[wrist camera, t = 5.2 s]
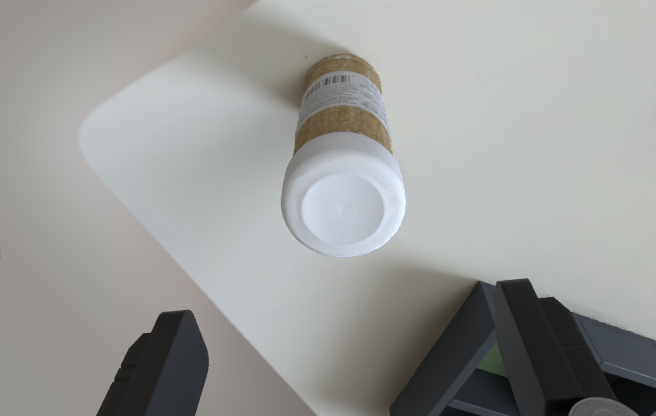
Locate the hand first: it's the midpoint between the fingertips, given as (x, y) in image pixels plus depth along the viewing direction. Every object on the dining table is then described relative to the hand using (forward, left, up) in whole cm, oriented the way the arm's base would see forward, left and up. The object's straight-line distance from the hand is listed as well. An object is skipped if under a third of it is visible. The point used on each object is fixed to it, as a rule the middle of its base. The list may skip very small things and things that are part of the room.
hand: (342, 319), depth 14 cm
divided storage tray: (+22, -17, -19) cm, 34 cm away
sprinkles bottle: (0, 0, -19) cm, 19 cm away
